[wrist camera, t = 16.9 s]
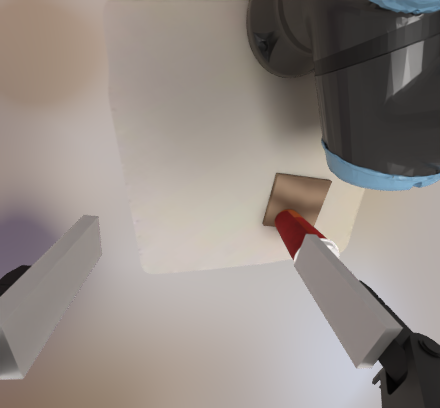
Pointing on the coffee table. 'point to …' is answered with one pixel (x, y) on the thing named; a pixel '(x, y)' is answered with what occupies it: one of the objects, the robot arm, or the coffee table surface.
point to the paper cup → (298, 232)
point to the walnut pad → (296, 197)
